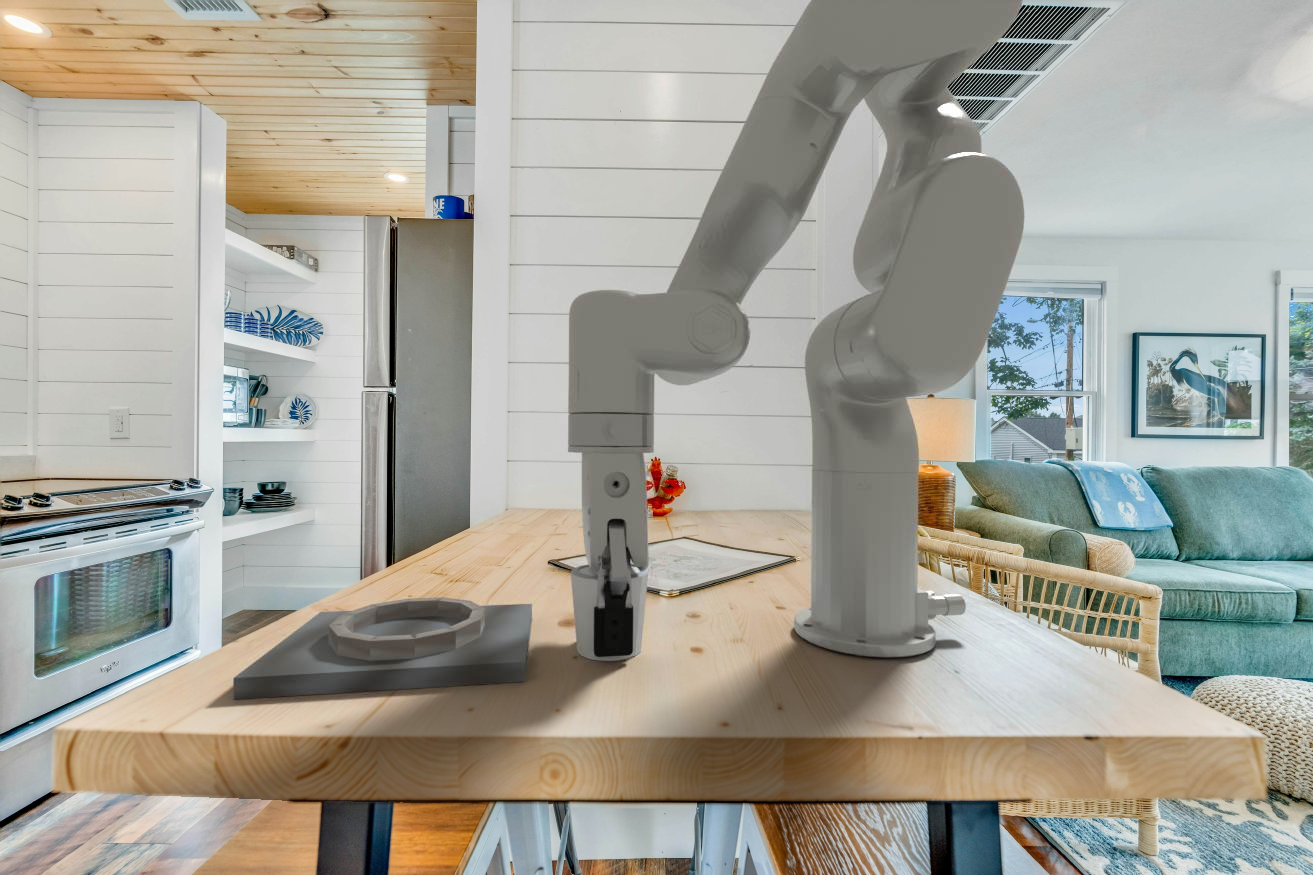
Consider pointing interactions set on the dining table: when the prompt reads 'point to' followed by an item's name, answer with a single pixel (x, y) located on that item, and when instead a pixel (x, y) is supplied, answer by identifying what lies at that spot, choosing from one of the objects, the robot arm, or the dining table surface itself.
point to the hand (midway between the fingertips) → (609, 639)
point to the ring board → (395, 649)
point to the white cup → (587, 600)
